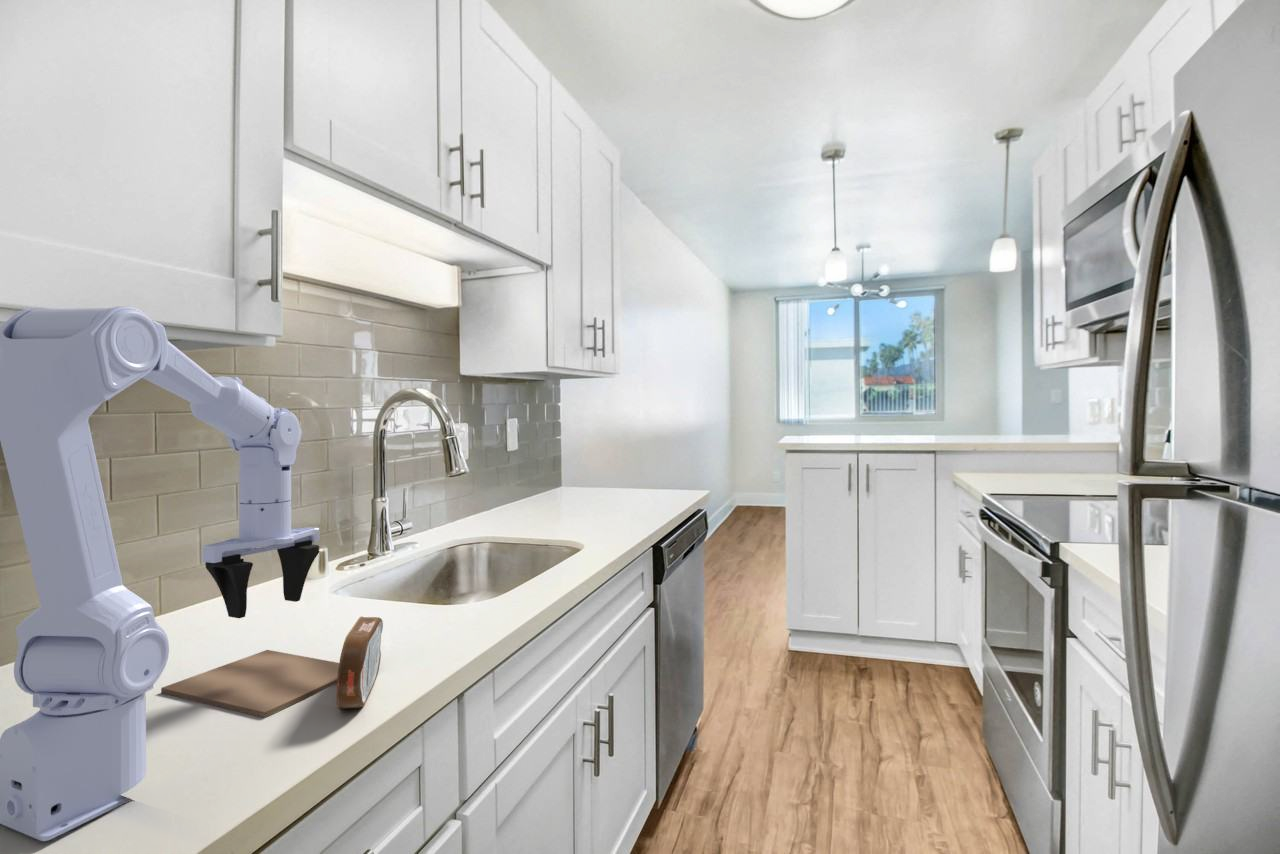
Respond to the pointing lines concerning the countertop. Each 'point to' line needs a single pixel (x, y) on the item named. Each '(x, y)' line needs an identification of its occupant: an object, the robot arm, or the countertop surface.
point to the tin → (359, 663)
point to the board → (259, 683)
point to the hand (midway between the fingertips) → (265, 608)
